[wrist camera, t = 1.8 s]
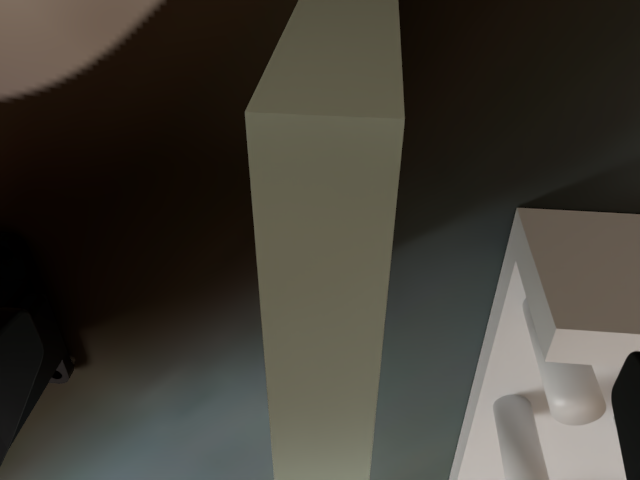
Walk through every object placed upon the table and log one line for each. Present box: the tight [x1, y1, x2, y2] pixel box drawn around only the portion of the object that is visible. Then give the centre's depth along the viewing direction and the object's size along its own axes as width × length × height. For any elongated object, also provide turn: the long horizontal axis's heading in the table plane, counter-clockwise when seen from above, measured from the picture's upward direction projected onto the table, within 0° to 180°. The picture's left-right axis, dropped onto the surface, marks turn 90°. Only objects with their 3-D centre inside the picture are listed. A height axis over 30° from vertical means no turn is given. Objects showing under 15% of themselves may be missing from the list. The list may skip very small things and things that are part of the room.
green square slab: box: [245, 0, 405, 480], centre depth 11 cm, size 2×8×8 cm, turn 0°
